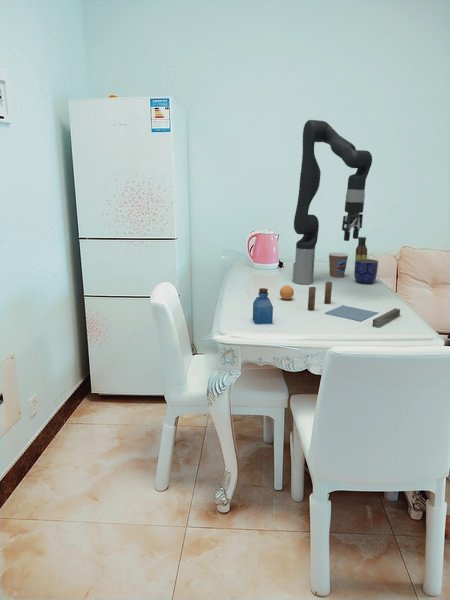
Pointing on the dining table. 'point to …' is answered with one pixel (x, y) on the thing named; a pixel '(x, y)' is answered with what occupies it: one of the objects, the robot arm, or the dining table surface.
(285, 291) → the ball
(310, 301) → the post
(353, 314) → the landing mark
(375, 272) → the planter
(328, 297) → the post
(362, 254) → the sauce bottle
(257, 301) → the perfume bottle
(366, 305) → the dining table surface
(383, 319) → the wall
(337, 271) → the coffee cup
